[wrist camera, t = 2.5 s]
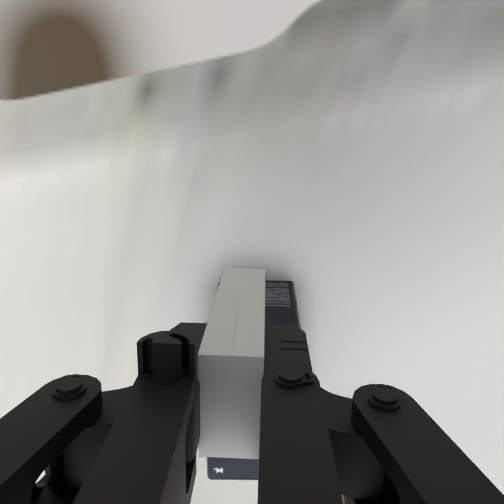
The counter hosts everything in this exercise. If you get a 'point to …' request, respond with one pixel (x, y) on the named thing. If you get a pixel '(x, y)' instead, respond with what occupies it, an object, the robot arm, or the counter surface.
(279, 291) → the small box
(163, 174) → the counter surface
